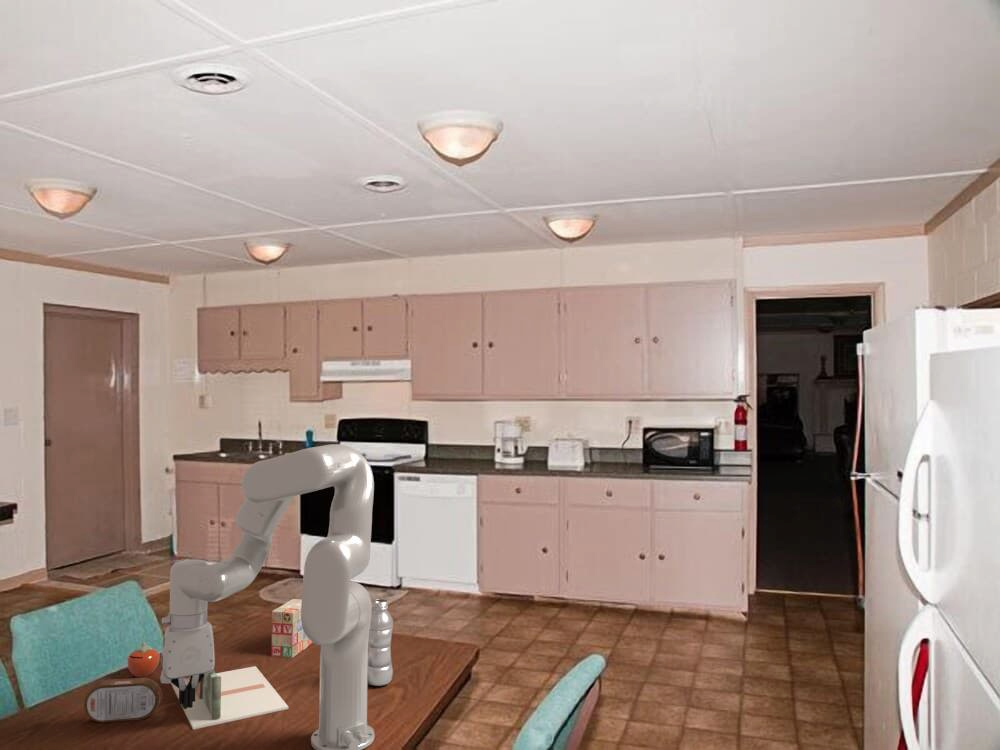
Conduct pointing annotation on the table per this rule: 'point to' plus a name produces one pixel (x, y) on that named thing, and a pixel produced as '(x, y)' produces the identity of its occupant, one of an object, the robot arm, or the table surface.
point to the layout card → (236, 698)
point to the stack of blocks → (288, 630)
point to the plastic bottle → (380, 645)
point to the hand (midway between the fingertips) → (186, 706)
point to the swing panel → (212, 694)
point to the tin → (122, 699)
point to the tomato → (143, 661)
